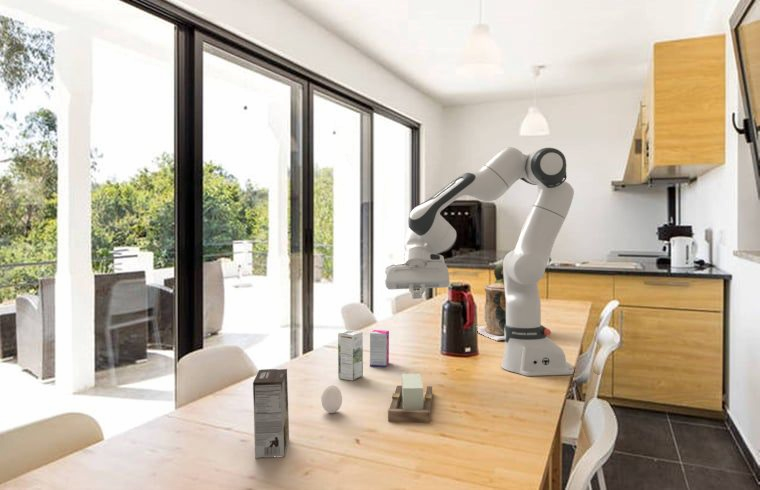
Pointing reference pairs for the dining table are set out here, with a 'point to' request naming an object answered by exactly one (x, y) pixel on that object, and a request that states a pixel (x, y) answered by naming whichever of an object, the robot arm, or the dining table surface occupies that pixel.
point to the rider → (412, 392)
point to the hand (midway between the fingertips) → (417, 297)
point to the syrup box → (350, 355)
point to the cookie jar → (495, 307)
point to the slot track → (409, 414)
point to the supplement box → (379, 348)
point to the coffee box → (271, 413)
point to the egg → (331, 398)
